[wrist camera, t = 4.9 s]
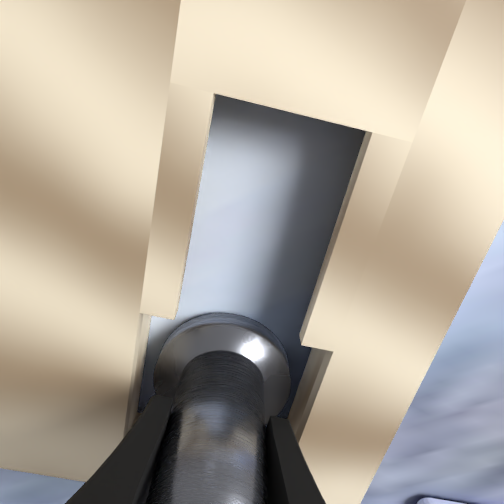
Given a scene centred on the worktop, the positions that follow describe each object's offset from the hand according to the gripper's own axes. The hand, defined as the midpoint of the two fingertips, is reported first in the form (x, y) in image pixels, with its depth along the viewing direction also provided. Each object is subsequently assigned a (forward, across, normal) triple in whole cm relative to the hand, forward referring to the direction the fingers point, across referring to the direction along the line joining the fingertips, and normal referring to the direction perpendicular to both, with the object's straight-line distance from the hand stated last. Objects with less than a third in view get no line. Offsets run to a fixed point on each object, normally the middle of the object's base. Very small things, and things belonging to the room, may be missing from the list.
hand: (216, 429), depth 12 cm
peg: (+3, 0, 0) cm, 3 cm away
